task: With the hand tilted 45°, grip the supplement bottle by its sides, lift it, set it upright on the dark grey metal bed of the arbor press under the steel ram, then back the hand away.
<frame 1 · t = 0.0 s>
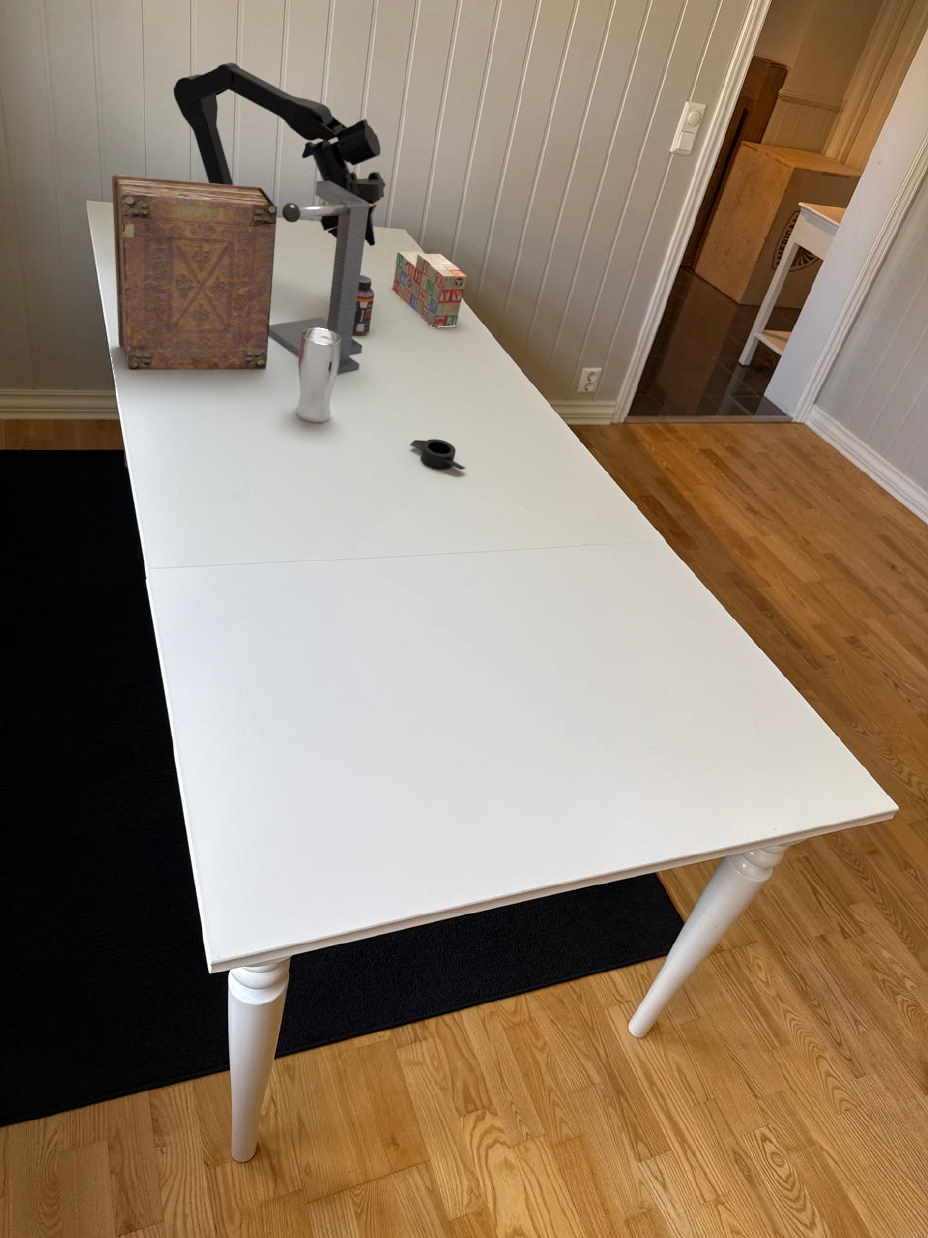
hand: (366, 250, 185), 15 cm above the table, tool tilted 35°, fingers open, 9 cm apart
book: (194, 358, 165), on the table
stack of blocks: (423, 309, 207), on the table
arbor press: (313, 342, 181), on the table
beer glass: (313, 415, 159), on the table
supplement bottle: (355, 331, 190), on the table
black winged ring: (436, 463, 155), on the table
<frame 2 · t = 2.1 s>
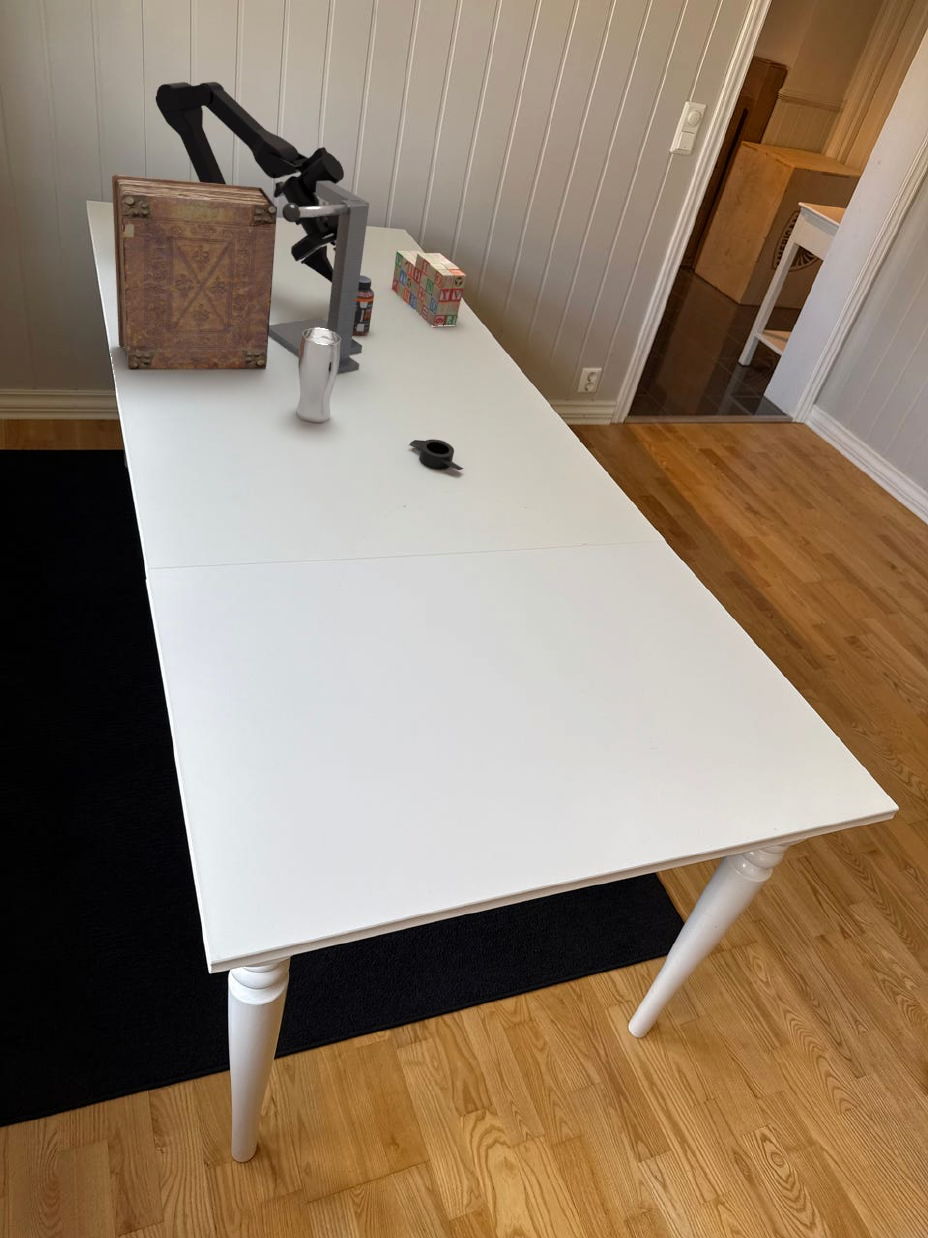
hand: (347, 277, 184), 10 cm above the table, tool tilted 45°, fingers open, 9 cm apart
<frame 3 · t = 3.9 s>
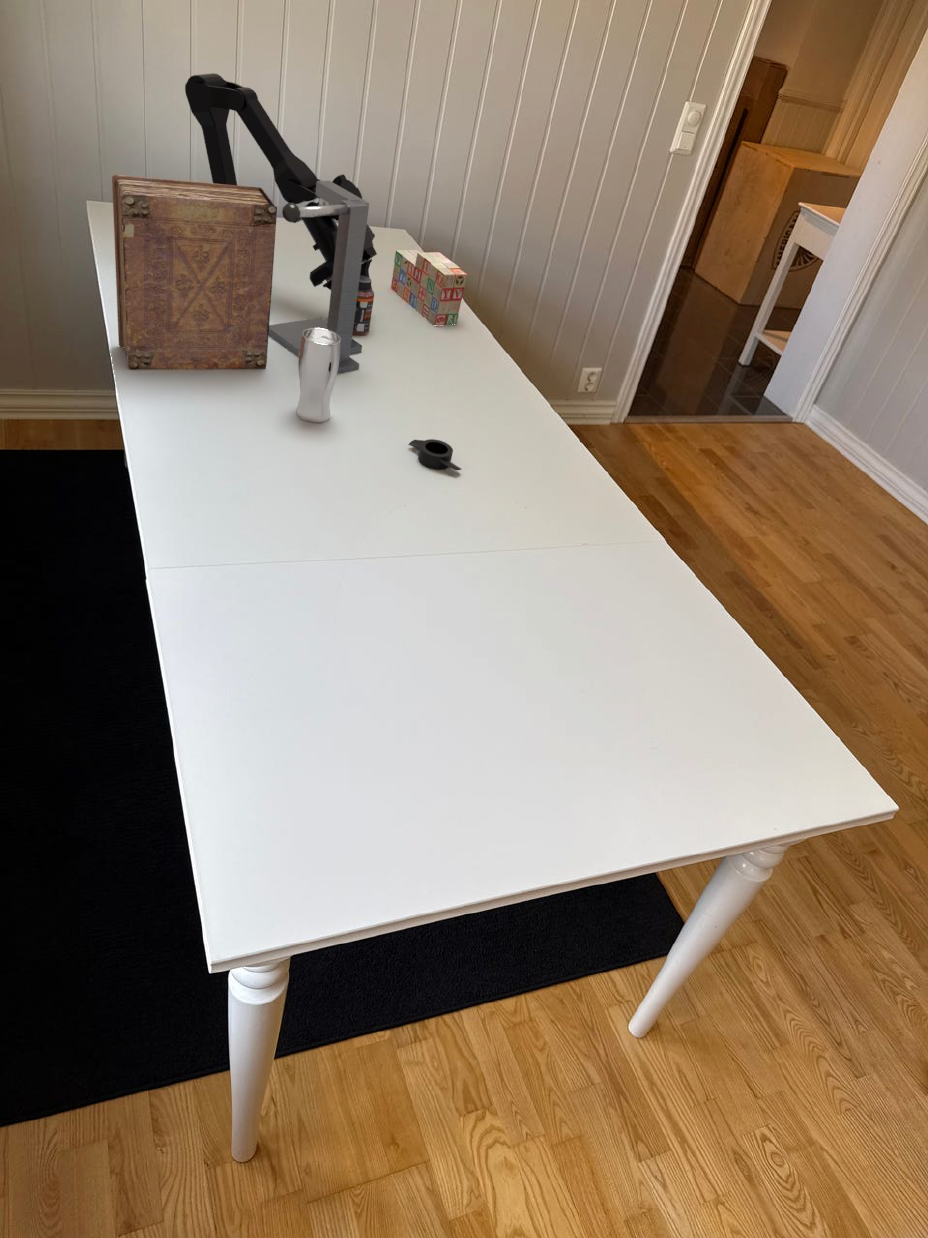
hand: (364, 302, 185), 7 cm above the table, tool tilted 45°, fingers closed on supplement bottle, 6 cm apart
supplement bottle: (355, 331, 190), on the table, touching gripper
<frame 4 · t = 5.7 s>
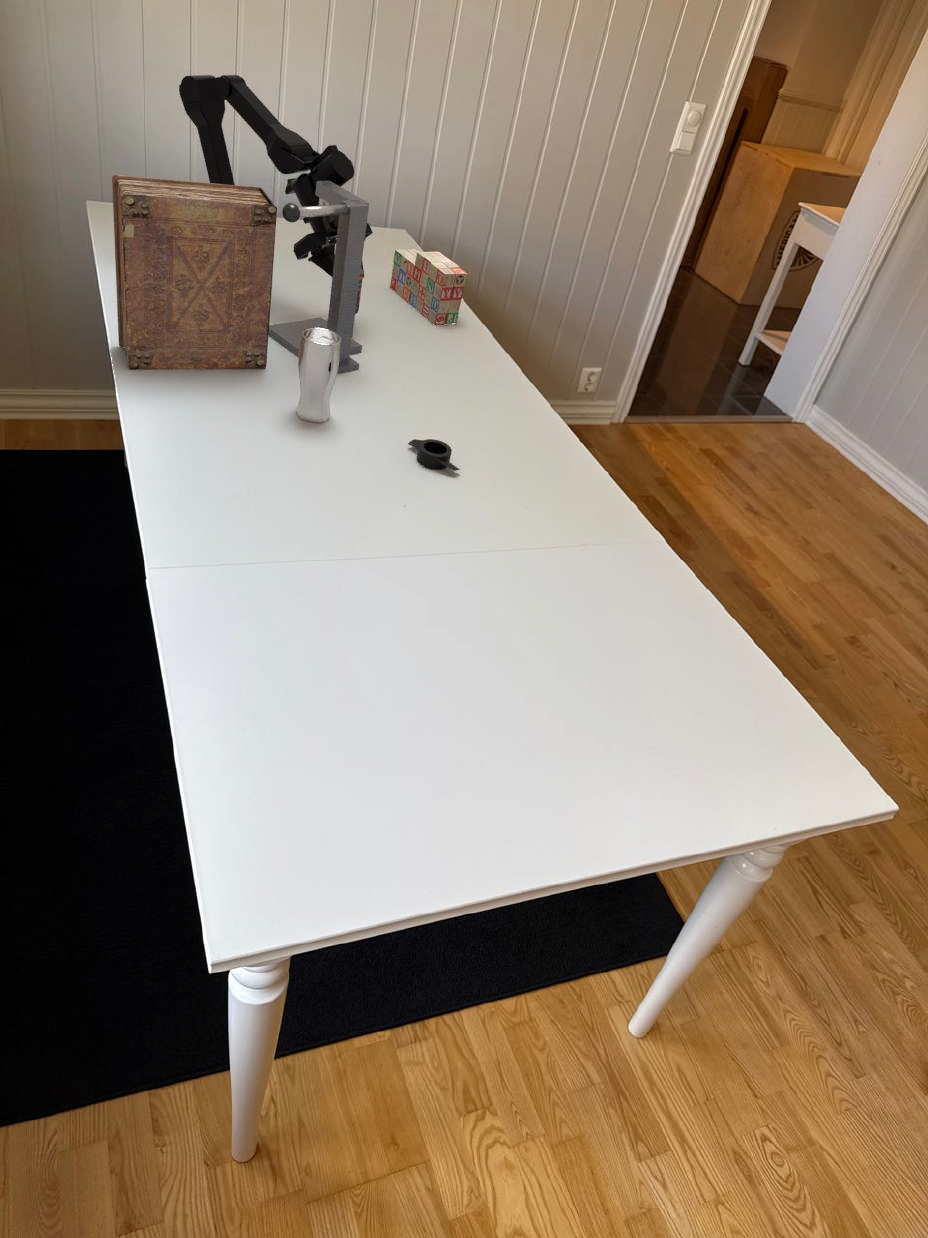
hand: (353, 280, 178), 12 cm above the table, tool tilted 45°, fingers closed on supplement bottle, 6 cm apart
supplement bottle: (344, 311, 183), point 5 cm above the table, touching gripper
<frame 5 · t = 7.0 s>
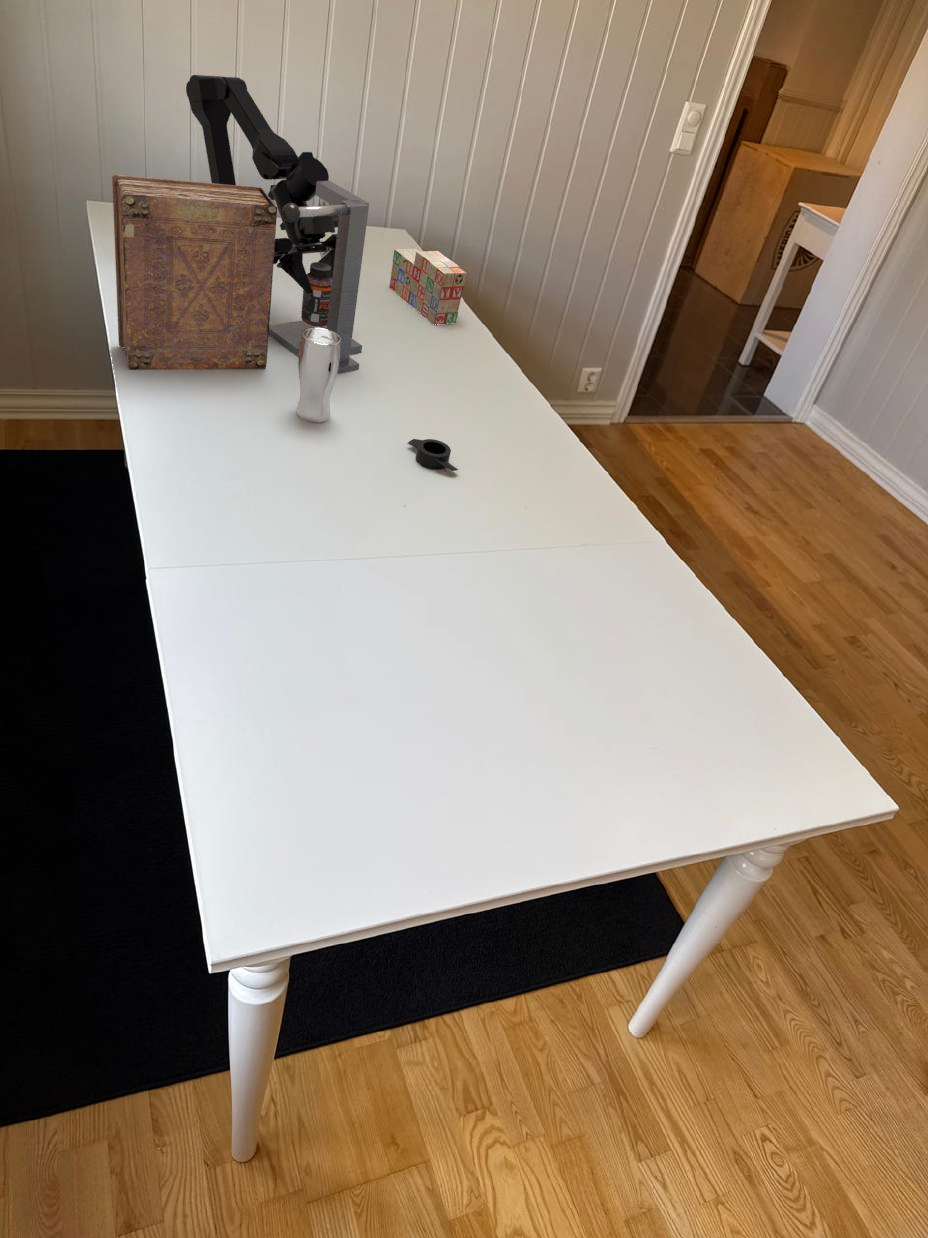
hand: (322, 291, 173), 11 cm above the table, tool tilted 45°, fingers closed on supplement bottle, 6 cm apart
supplement bottle: (315, 322, 178), point 4 cm above the table, touching gripper
when the fingers open (9 cm above the table, at t = 7.8 s): supplement bottle stays where it is, resting on arbor press.
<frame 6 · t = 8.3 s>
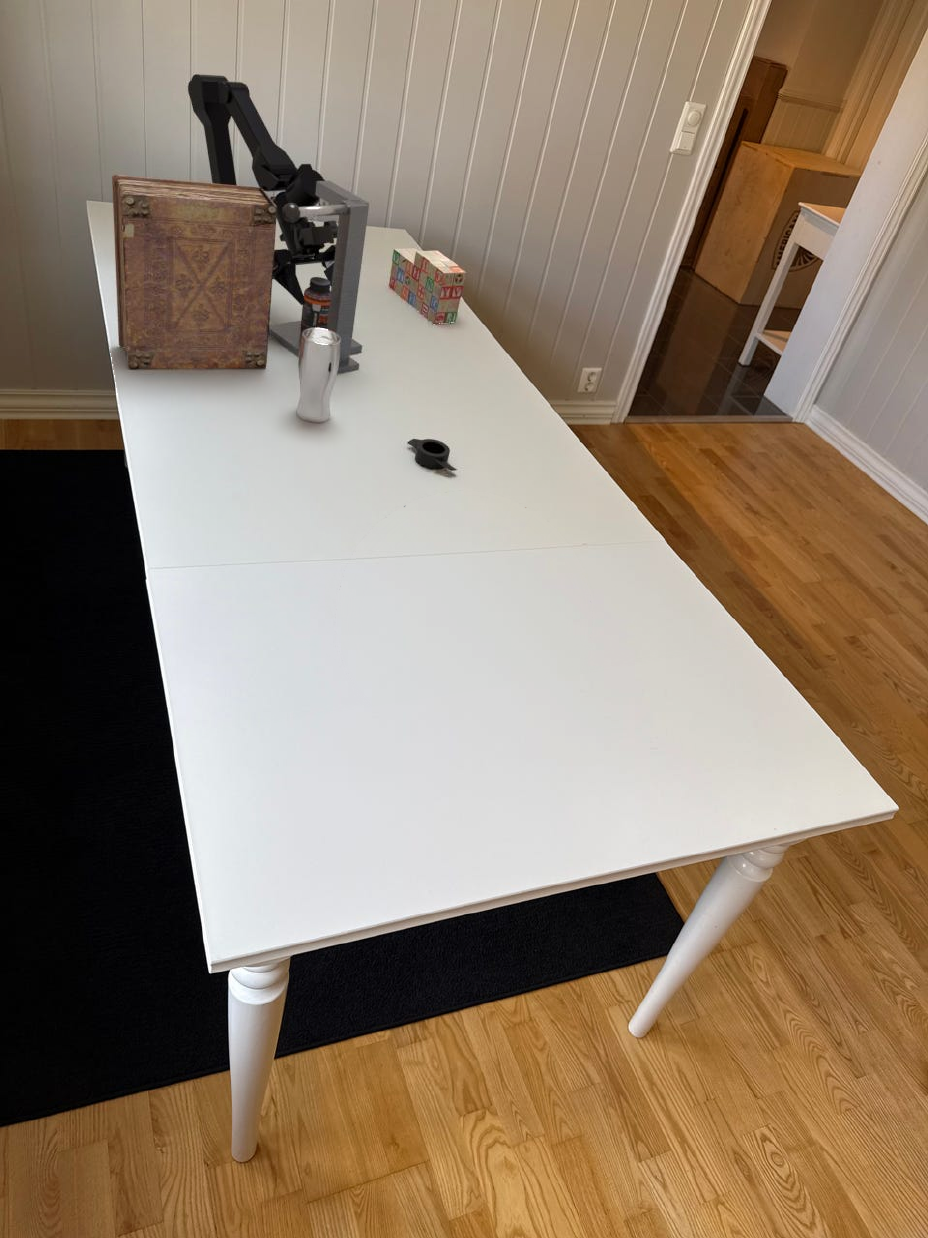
hand: (322, 301, 174), 9 cm above the table, tool tilted 45°, fingers open, 9 cm apart
supplement bottle: (314, 335, 180), point 1 cm above the table, touching arbor press
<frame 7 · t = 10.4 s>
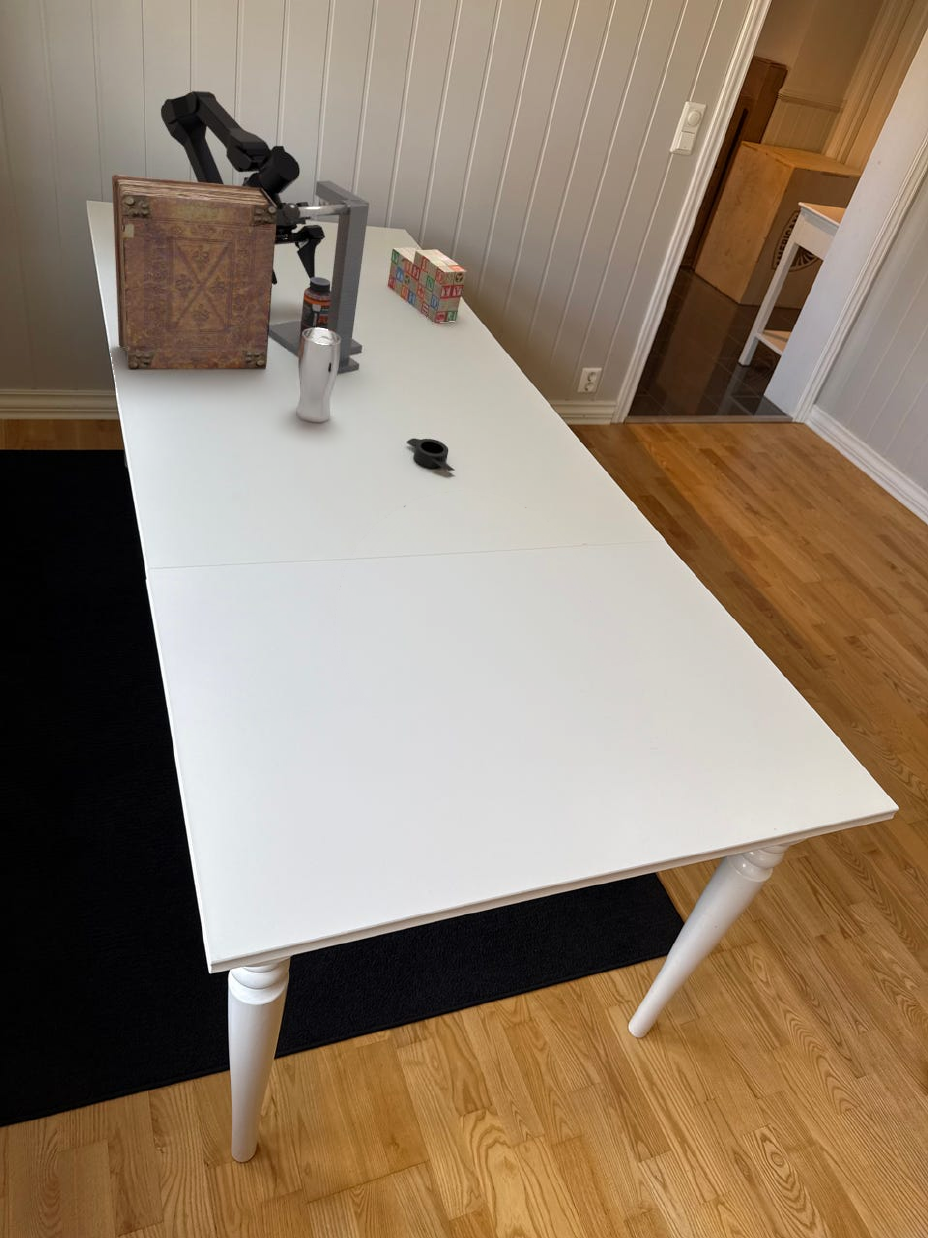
hand: (294, 281, 179), 9 cm above the table, tool tilted 45°, fingers open, 9 cm apart
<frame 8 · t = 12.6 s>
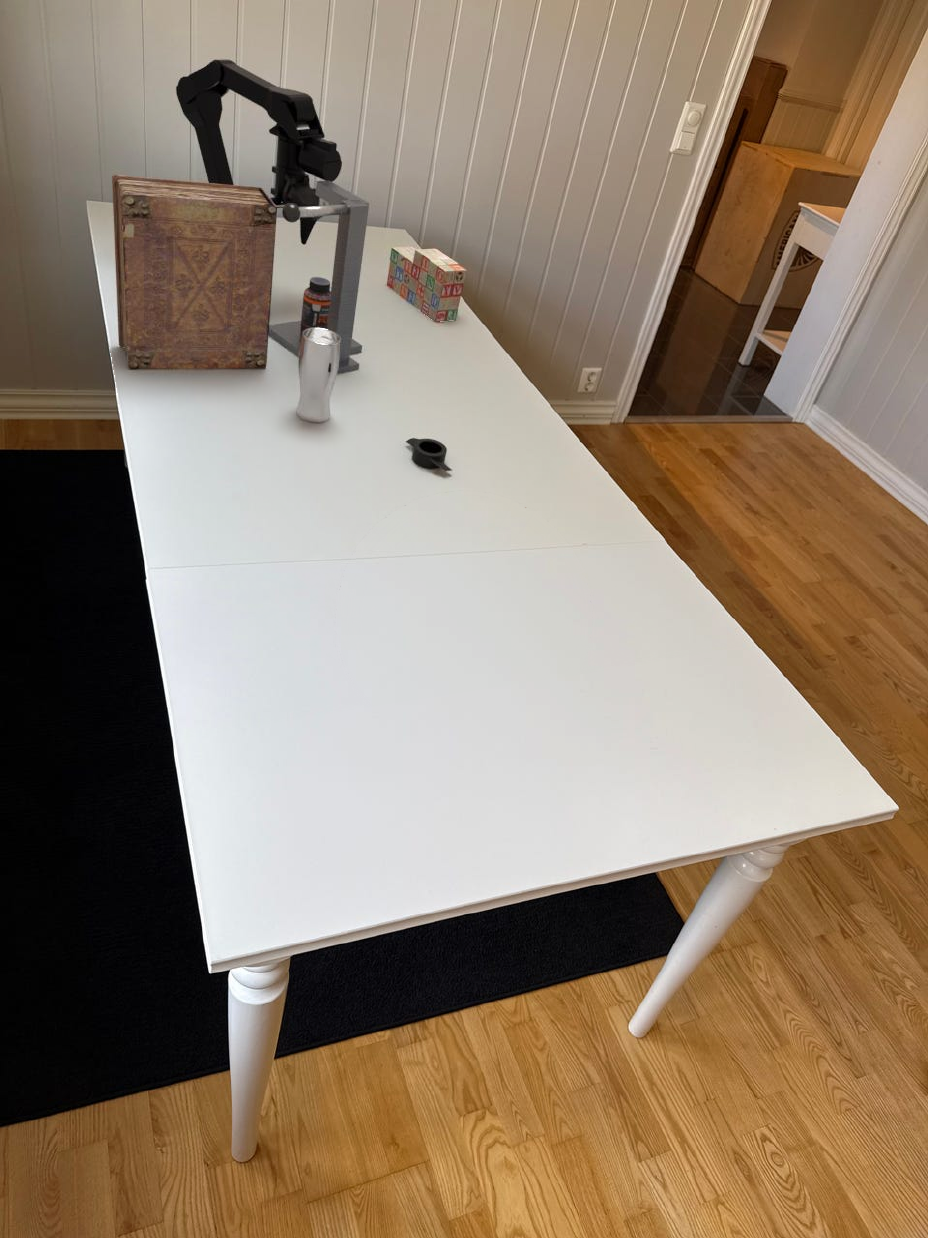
hand: (285, 245, 183), 13 cm above the table, tool pointing down, fingers open, 9 cm apart
at the end: supplement bottle 0.3 cm off-centre on the arbor press, point 1.3 cm above the arbor press's base; supplement bottle tilted 0°; the gripper is holding nothing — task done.
